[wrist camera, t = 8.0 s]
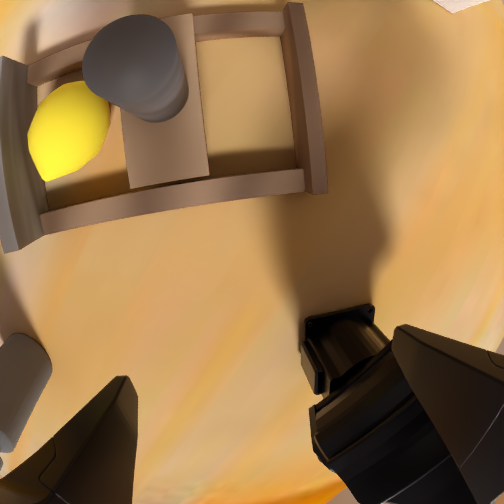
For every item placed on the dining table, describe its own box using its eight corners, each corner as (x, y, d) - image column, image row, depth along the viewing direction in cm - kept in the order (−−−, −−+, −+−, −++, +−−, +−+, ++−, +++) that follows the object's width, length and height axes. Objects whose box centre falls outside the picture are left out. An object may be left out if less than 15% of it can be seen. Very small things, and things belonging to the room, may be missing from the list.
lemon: (80, 82, 16) (52, 54, 11) (136, 107, 17) (120, 80, 12) (34, 166, 16) (-5, 161, 11) (88, 196, 18) (57, 198, 13)
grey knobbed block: (195, 46, 16) (186, -54, 5) (209, 171, 19) (209, 186, 8) (137, 56, 15) (77, -26, 5) (150, 180, 18) (82, 210, 8)
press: (291, 20, 16) (312, -11, 11) (312, 187, 20) (341, 197, 16) (23, 76, 14) (-13, 65, 9) (39, 233, 18) (4, 253, 14)
